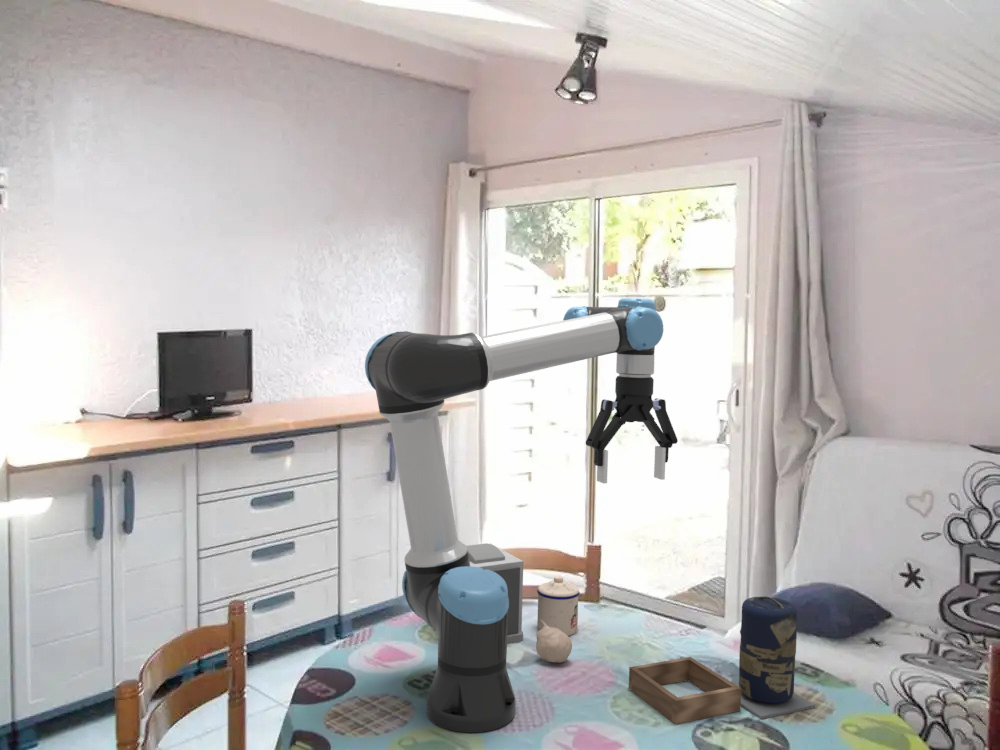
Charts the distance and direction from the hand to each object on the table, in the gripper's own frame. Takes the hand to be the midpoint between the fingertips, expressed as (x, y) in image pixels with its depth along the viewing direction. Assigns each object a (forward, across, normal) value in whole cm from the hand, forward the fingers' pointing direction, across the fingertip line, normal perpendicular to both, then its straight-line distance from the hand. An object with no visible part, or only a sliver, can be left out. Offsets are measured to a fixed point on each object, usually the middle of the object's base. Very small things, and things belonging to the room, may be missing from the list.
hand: (631, 480), depth 171 cm
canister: (+34, -11, +29) cm, 46 cm away
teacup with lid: (+35, +8, -15) cm, 39 cm away
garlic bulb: (+35, +17, +1) cm, 39 cm away
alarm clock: (+35, +25, -19) cm, 47 cm away
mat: (+35, -11, +29) cm, 47 cm away
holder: (+35, +3, +24) cm, 42 cm away
